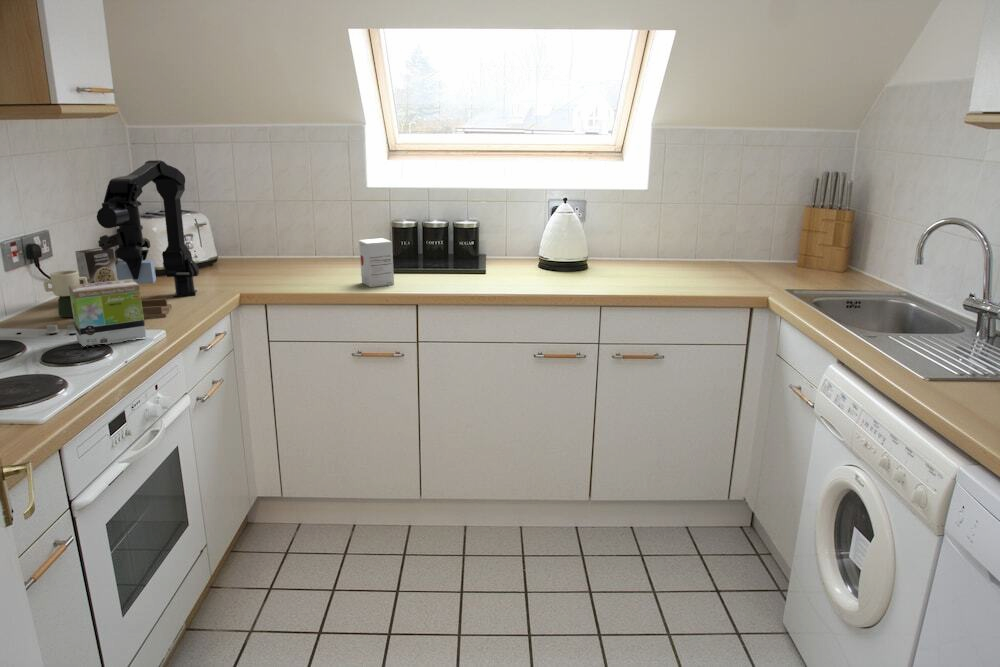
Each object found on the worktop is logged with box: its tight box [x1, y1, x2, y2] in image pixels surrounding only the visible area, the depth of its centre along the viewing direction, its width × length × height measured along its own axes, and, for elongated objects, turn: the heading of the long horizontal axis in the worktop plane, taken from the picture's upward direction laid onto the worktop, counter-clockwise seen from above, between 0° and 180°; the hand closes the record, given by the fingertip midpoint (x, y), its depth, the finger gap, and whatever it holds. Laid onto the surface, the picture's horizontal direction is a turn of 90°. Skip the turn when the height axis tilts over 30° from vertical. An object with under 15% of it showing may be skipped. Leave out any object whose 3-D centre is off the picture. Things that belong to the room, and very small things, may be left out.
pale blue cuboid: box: [115, 259, 157, 285], centre depth 214 cm, size 5×9×6 cm, turn 106°
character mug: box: [43, 270, 88, 318], centre depth 215 cm, size 11×7×13 cm, turn 118°
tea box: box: [69, 279, 147, 347], centre depth 190 cm, size 15×10×15 cm, turn 126°
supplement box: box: [358, 237, 395, 288], centre depth 253 cm, size 9×9×15 cm
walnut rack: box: [141, 298, 172, 320], centre depth 217 cm, size 12×14×3 cm
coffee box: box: [74, 247, 118, 284], centre depth 235 cm, size 9×6×16 cm
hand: (137, 277), depth 215 cm, fingers closed on pale blue cuboid, 5 cm apart
